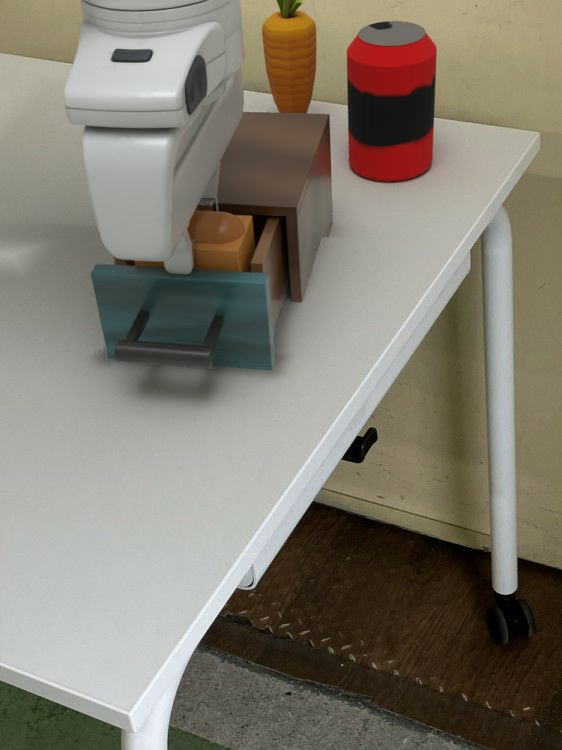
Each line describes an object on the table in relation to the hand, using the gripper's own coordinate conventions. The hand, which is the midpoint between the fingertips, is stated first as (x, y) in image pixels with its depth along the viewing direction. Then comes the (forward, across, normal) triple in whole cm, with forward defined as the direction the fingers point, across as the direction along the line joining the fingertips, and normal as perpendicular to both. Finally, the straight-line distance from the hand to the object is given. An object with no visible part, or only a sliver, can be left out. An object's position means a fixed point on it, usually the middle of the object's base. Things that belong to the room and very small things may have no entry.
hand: (193, 244), depth 66 cm
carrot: (+9, -35, 0) cm, 36 cm away
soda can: (+9, -29, +10) cm, 32 cm away
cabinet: (+9, -11, 0) cm, 14 cm away
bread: (+2, 0, 0) cm, 2 cm away
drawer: (+8, 0, 0) cm, 8 cm away
